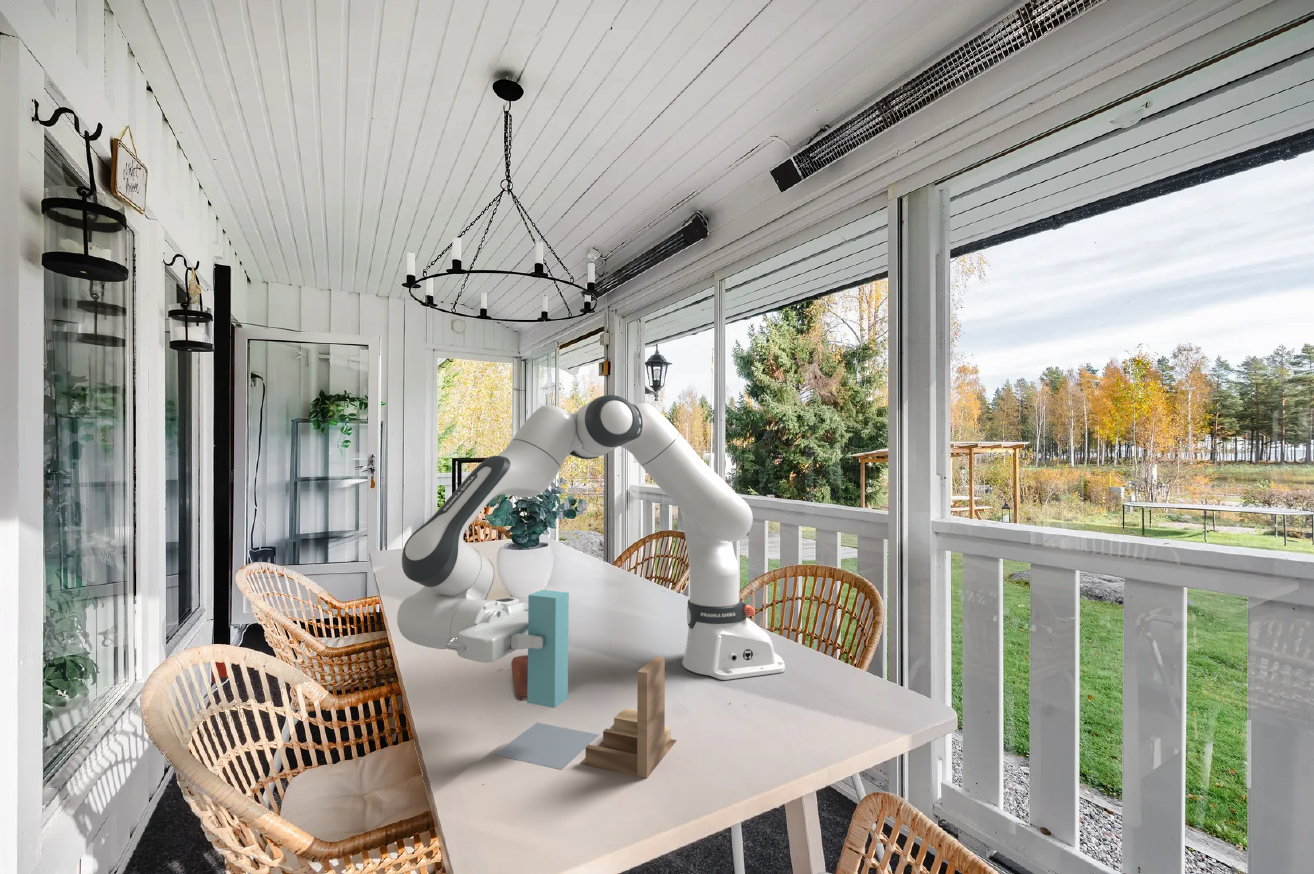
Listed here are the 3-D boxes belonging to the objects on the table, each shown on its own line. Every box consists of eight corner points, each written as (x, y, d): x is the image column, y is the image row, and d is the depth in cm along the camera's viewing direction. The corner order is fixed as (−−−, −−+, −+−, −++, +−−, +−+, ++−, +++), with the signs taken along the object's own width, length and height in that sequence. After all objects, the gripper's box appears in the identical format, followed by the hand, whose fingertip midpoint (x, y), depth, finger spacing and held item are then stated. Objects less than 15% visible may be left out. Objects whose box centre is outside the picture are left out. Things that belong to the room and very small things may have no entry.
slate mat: (536, 728, 107) (536, 722, 107) (599, 740, 103) (599, 734, 103) (493, 760, 96) (494, 754, 96) (561, 776, 91) (561, 769, 91)
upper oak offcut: (624, 720, 103) (624, 708, 103) (663, 727, 101) (663, 714, 101) (614, 730, 100) (614, 717, 100) (654, 737, 97) (654, 725, 97)
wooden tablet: (570, 698, 121) (570, 690, 121) (517, 704, 118) (517, 695, 118) (553, 654, 147) (553, 647, 147) (509, 658, 144) (509, 651, 144)
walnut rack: (615, 734, 105) (615, 639, 105) (676, 746, 101) (676, 646, 101) (579, 770, 93) (579, 662, 93) (646, 785, 89) (647, 672, 89)
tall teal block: (541, 693, 102) (542, 589, 102) (567, 698, 100) (568, 592, 101) (527, 702, 98) (528, 595, 99) (554, 707, 97) (555, 598, 97)
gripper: (438, 624, 95) (515, 635, 90) (517, 595, 114) (583, 602, 109) (438, 666, 95) (514, 679, 89) (516, 629, 114) (583, 639, 108)
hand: (553, 637), depth 99 cm, fingers closed on tall teal block, 4 cm apart
